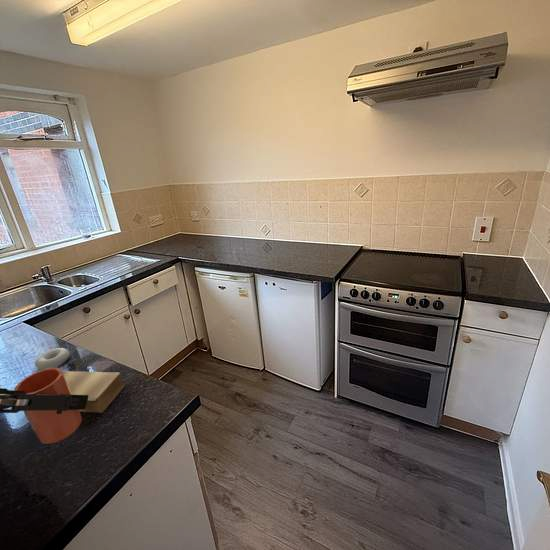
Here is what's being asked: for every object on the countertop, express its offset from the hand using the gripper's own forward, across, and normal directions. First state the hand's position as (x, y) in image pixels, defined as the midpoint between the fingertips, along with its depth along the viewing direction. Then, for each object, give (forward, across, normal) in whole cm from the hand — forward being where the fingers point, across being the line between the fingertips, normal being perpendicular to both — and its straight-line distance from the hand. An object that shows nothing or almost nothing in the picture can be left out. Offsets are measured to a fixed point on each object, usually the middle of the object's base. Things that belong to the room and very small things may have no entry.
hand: (68, 401), depth 63 cm
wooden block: (+23, +17, 0) cm, 28 cm away
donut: (+34, +40, -11) cm, 53 cm away
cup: (0, 0, +5) cm, 5 cm away
